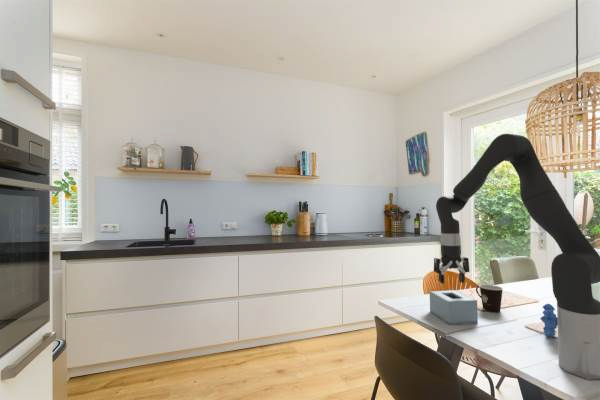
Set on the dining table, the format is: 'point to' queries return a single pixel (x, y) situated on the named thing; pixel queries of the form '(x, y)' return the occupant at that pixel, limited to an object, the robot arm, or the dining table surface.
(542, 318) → the grapes
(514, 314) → the dining table surface
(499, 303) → the coffee mug
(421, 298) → the dining table surface
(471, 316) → the box
